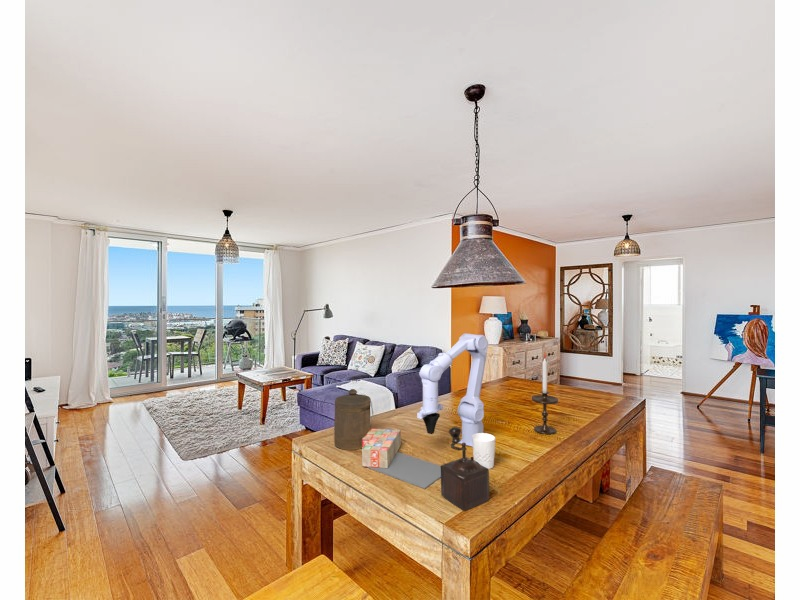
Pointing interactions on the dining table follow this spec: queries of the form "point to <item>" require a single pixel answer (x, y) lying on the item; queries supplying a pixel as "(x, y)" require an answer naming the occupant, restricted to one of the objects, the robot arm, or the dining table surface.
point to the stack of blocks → (380, 447)
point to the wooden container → (351, 420)
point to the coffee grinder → (464, 478)
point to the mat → (412, 470)
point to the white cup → (484, 449)
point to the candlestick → (544, 403)
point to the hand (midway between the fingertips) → (430, 433)
